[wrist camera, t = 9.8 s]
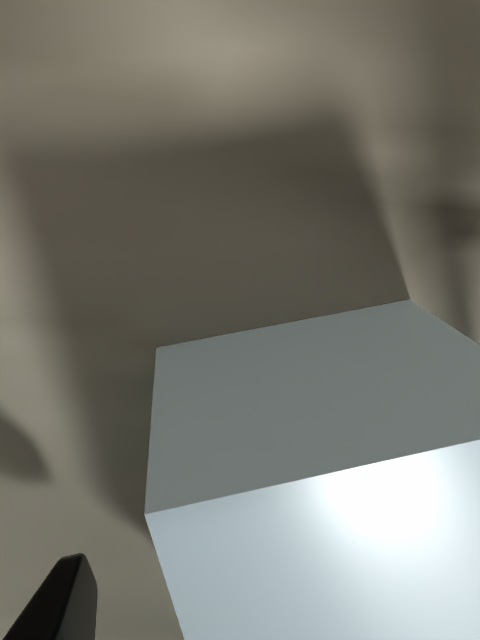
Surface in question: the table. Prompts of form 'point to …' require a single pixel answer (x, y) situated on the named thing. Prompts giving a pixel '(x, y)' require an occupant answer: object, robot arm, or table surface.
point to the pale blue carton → (320, 479)
